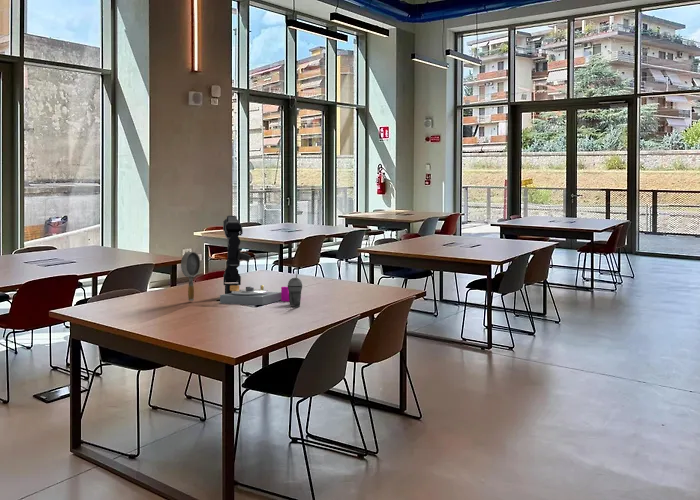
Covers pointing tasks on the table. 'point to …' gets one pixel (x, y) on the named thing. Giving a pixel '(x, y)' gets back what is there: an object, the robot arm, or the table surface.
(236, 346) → the table surface
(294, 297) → the beverage cup
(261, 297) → the jig block
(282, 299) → the toy block
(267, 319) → the table surface
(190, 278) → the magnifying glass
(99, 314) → the table surface
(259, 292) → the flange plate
